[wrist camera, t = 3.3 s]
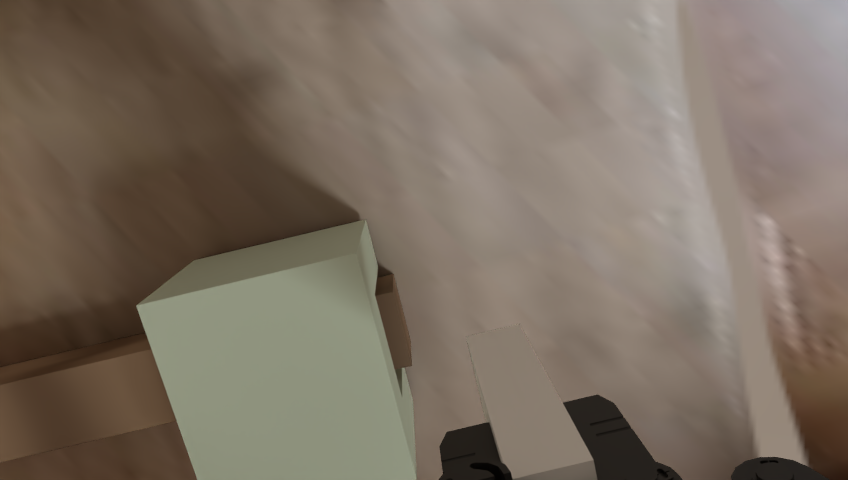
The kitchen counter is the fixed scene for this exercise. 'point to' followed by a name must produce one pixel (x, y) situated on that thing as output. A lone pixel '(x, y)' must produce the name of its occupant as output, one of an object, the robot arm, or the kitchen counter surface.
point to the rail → (117, 388)
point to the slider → (284, 362)
